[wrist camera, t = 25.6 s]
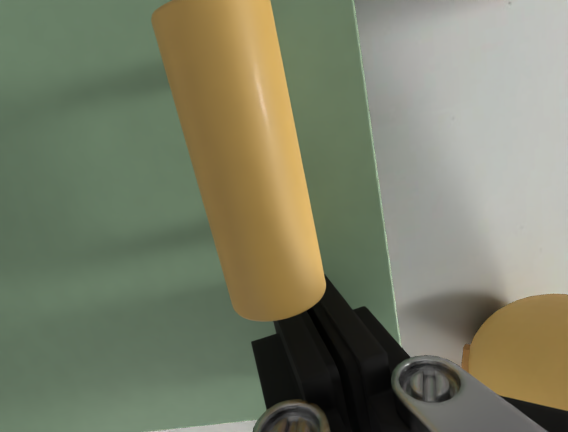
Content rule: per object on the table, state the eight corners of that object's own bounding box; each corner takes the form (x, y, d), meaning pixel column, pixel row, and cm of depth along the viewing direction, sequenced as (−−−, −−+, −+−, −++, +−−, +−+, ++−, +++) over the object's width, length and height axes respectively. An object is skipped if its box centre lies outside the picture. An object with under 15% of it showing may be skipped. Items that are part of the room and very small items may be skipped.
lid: (302, -339, 7) (285, -1040, 3) (403, 385, 12) (456, 556, 8) (-308, -113, 9) (-904, -304, 5) (-2, 430, 14) (-146, 589, 10)
